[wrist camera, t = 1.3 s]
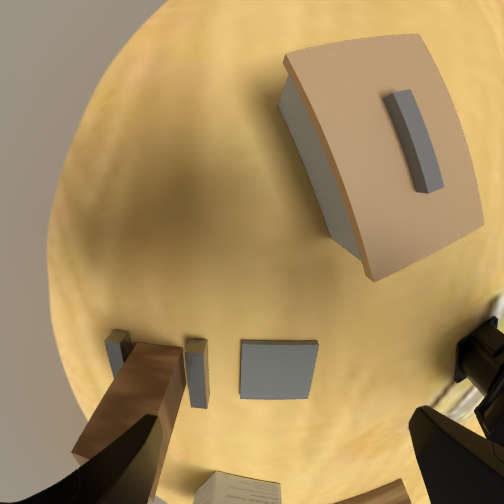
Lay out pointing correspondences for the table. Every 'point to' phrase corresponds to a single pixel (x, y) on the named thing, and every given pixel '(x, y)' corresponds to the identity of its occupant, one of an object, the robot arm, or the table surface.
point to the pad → (277, 369)
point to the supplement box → (237, 491)
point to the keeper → (195, 364)
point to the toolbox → (381, 149)
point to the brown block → (137, 401)
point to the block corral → (383, 495)
